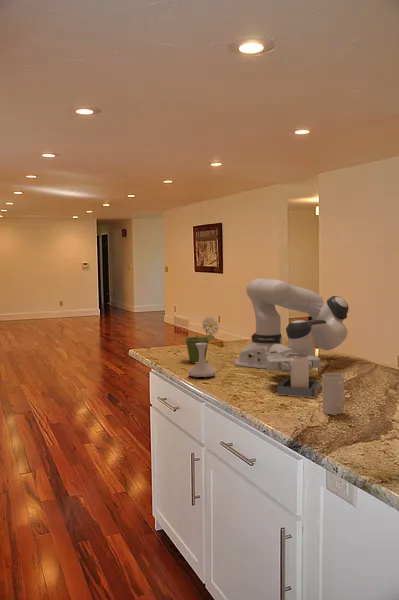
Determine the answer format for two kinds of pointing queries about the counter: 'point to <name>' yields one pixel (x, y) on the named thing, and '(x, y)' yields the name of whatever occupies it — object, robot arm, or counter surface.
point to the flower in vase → (202, 367)
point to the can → (299, 371)
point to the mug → (333, 393)
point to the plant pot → (195, 348)
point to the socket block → (298, 389)
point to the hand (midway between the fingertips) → (299, 367)
